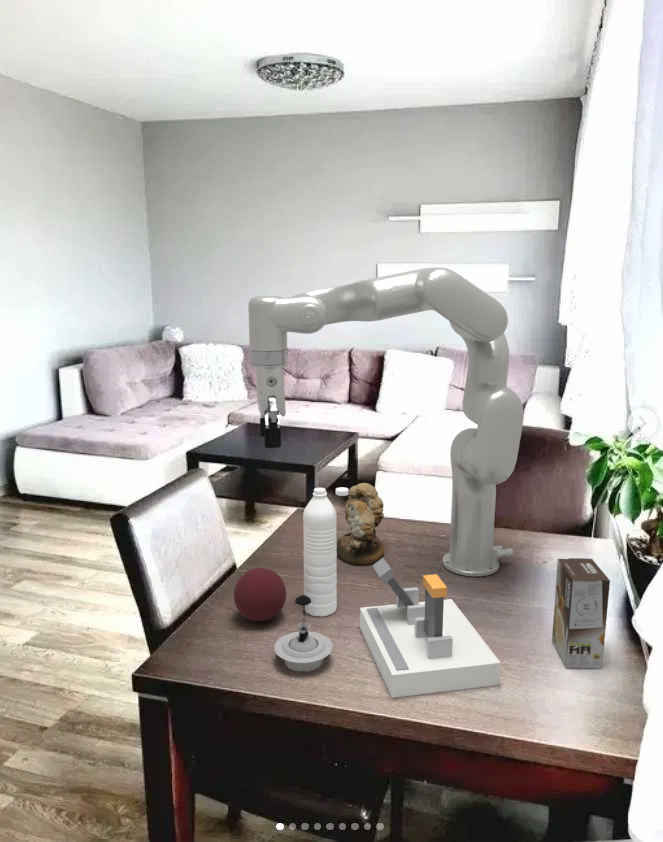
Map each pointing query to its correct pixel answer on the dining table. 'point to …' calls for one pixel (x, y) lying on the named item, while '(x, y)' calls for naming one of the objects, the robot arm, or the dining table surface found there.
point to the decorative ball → (259, 594)
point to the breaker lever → (434, 605)
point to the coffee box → (580, 612)
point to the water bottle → (320, 553)
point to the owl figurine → (362, 527)
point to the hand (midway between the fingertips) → (270, 441)
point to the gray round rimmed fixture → (303, 645)
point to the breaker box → (426, 649)
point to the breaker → (392, 581)
